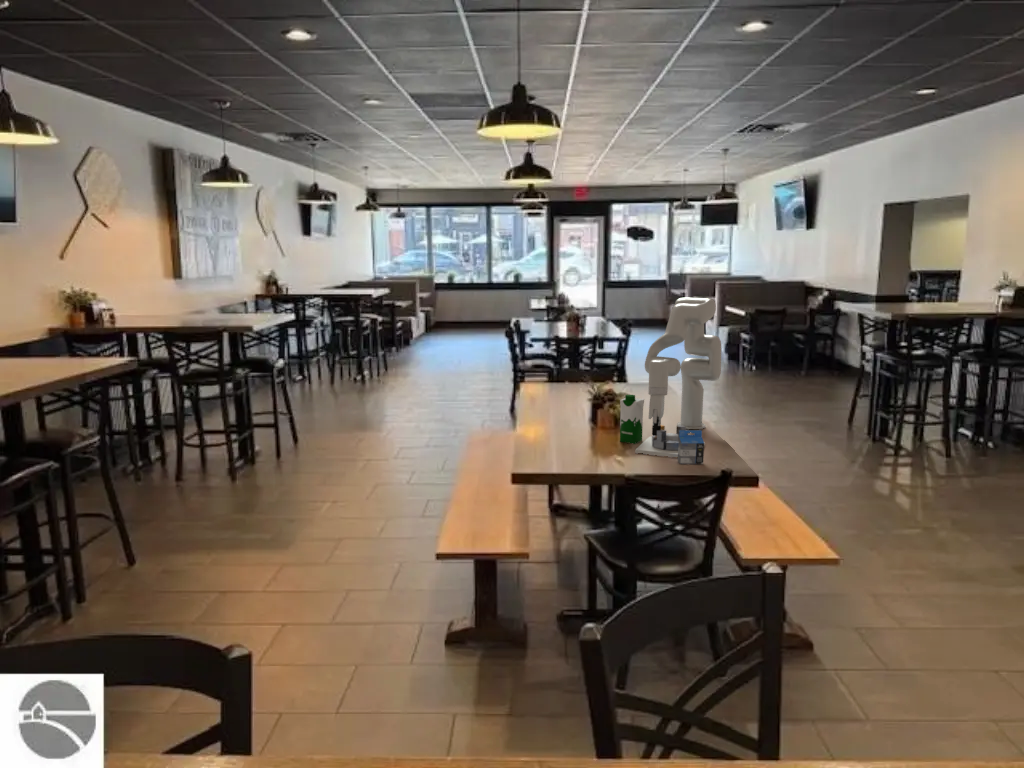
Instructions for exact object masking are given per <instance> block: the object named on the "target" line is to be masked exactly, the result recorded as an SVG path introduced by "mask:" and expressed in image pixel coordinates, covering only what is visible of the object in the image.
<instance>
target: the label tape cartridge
mask: <svg viewBox="0 0 1024 768" xmlns="http://www.w3.org/2000/svg"><path fill="white" fill-rule="evenodd" d="M687 433H688V435H687ZM704 442H705V441H704V439H703V429H699V430H689V429H686V430H679V445H678V458H677V463H679V465H704V455H705V446H704Z"/></svg>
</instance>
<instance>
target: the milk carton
mask: <svg viewBox="0 0 1024 768" xmlns="http://www.w3.org/2000/svg"><path fill="white" fill-rule="evenodd" d="M619 404H620V421H619V422H620V424H619V442H620V443H625V442H626V444H632V443H633V445H636V444H638V443H641V442H642V441H643V429H644V428H643V427H644V425H643V424H644V422H643V421H644V405H645V398H639V397H638V398H637V397H636V394H626V395H625V396H624V398H622V399H620V400H619Z"/></svg>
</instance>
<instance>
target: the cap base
mask: <svg viewBox="0 0 1024 768" xmlns="http://www.w3.org/2000/svg"><path fill="white" fill-rule="evenodd" d="M652 436H653V435H649V436H648V437H647V438H646V439H645V440H644V441H643V442H642V443H640V445H638V447H637V448H635V451H634V452H635V454H638V453H643V454H642V455H647V454H649V455H648V456H655V455H657V456H658V457H664V456H668V457H667V458H672V457H678V450H666V449H664V450H663V449H659V448H655V447H654V446H652ZM666 441H678V434H676V433H672V432H668V433H667V432H666ZM705 445H706V442H705V441H704V447H705Z"/></svg>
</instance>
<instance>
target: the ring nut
mask: <svg viewBox="0 0 1024 768" xmlns="http://www.w3.org/2000/svg"><path fill="white" fill-rule="evenodd" d="M679 430H687V429H686V426H682V425H680V426H677V425H676V433H675V434H678V441H666V433H667V430H666V429H665V425H664V424H661V430H657V436H655V435H651V436H652V446H654V447H655V448H659V449H663V450H664V449H666V450H678V445H679ZM687 435H689V433H687Z"/></svg>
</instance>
